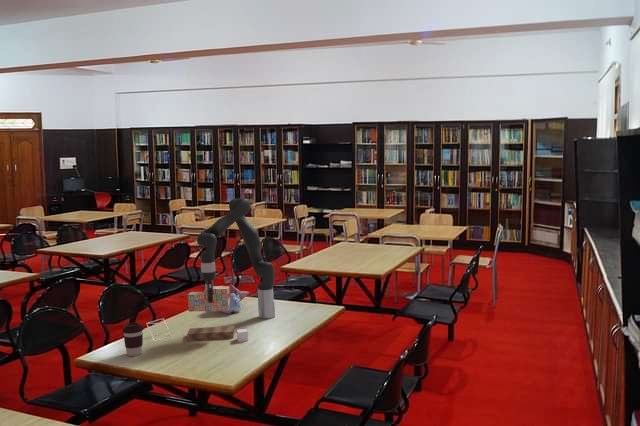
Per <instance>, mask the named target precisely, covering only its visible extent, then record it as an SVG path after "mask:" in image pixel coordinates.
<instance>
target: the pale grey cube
mask: <svg viewBox="0 0 640 426" xmlns="http://www.w3.org/2000/svg"><path fill="white" fill-rule="evenodd" d="M236 338H237V339H236V340H237V341H238V343H240V342H248V341H249V332H248V329H247V328H242V329H241V328H240V329H237V330H236Z"/></svg>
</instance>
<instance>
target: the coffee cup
mask: <svg viewBox="0 0 640 426" xmlns="http://www.w3.org/2000/svg"><path fill="white" fill-rule="evenodd" d="M121 329H122V331H121V332H122V333H123V339H124V341H123V342H124V347H125V351H126V355H127V356H128V357H136V356H140V355H142V353H143V343H144V341H143V340H144V339H143V338H144V337H143V335H144V334H143V331H144V325H142V324H141V323H139V322H128V323H126V324H125V326H124V327H123V328H121Z"/></svg>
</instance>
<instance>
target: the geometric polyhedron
mask: <svg viewBox="0 0 640 426" xmlns="http://www.w3.org/2000/svg"><path fill="white" fill-rule="evenodd" d="M159 320H161V321H160V323H159V322H158V323H157V321H159ZM162 322H163V323H162ZM148 324H149V325H151V324H153V325H155V324H156V325H158V326H157V327H156V330H155V331H154V332H153V333H152V331H151V329H150V326H149V325H148ZM160 325H163V326H162V327H161V330H160V331H159V333H158V335H156V334H155V333H156V331H157V330H158V328H159V327H160ZM146 326H147V329H148V331H149V333H150V335H151V338H152V339H153V341H155V342H157V341H160V340H163V339H166V338H170V337H171V336H172V335H171V333H170V329H169V327H168V325H167V323H166V321H165V318H160V319H156V320H152V321H149V322H146ZM164 326H165V327H166V328H167V331H168V332H169V335H168V336H165V337H163V338H160V339H158V337H161V334H160V333H161V332H162V330H163V329H164ZM155 336H156V337H155ZM154 337H155V338H154ZM156 339H157V340H156Z"/></svg>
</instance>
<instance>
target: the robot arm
mask: <svg viewBox="0 0 640 426" xmlns="http://www.w3.org/2000/svg"><path fill="white" fill-rule="evenodd" d="M251 207H252V204H251V201H250V200H249V199H247V198H241V197H240V198H232V199H231V200H229V203H228V208H229V213H227V214H225V215H223V216H222V217H220V218H219V219H217V220H216V221H215V222H214V223H213V224H212V225H211V226H210V227H208V228H206V229H205V230H203V231H202V232H200V233H199V234H198V236H197V238H196V242H197V244H198V246H200V247H206V249H205V250H204V251H202V252H201V253H200V272H201V273H200V274H201V275H200V276H201V280H202V281H205V283H204V286H205V288H206V290H207V292H208V302H209V303H212V302H213V297H212V295H213V286H214V282H213V281H214V280H216V278H217V276H216V275H217V274H216V273H217V271H216V262H215V259H216V258H215V252H216V248H217V243H218V239H217V238H219V237H220V236H222V235H223V234H224V233H225V232H226V231H227V230H228V228H229V227H231V226H232V225H233V224H235V223H236V226H237V228H238V229H239V230H238V231H239V233H240V236H241V237H242V238H241V239H242V240H243V242H244V245H245V247H246V250H247V253H248V255H249V258H250V261H251V266H252V268H253V271H254V272H253V273H254V274H255V275H256V276H258V277H260V278H261V282H259V283H258V284H257V306H258V318H260V319H265V320H266V319H271V318H275V317H276V313H275V312H276V310H275V309H276V308H275V299H274V285H275V284H274V283H275V266H274V264H273V263H272V262H268V261H264V259H263V257H262V255H261V247H262V246H261V245H262V242H261V238H260V236H259V233H258V231H257V229H256V228H255V227H254V226H253V225H252V224H251V223H250V222H249V220H247V218H246V215H247V214H248V213H249V212H250V211H251ZM205 288H204V289H205ZM210 291H211V293H209V292H210Z"/></svg>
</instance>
